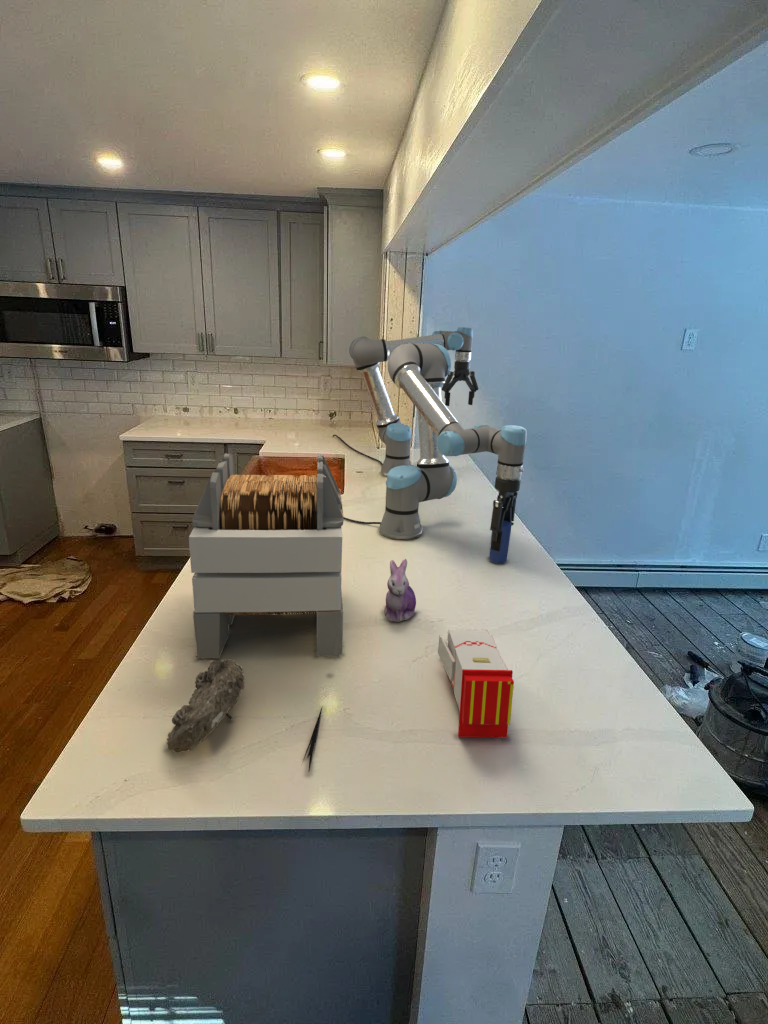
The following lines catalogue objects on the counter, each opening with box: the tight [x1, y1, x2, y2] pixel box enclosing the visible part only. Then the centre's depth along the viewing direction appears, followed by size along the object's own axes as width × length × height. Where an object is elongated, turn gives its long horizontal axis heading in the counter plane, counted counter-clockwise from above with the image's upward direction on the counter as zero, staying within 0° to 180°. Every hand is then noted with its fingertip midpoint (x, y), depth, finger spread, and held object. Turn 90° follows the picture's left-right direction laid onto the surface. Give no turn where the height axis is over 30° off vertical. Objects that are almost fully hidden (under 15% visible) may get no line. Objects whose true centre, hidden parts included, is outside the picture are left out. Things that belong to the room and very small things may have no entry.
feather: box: [301, 673, 332, 771], centre depth 108 cm, size 2×28×2 cm
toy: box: [437, 628, 515, 738], centre depth 117 cm, size 12×13×30 cm
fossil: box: [166, 658, 245, 754], centre depth 106 cm, size 22×10×15 cm
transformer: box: [188, 452, 345, 660], centre depth 135 cm, size 34×33×41 cm
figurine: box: [384, 558, 417, 623], centre depth 145 cm, size 9×10×15 cm
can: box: [488, 520, 512, 565], centre depth 180 cm, size 6×6×13 cm
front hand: (499, 546), depth 180 cm, fingers closed on can, 6 cm apart
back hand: (458, 405), depth 280 cm, fingers open, 13 cm apart
